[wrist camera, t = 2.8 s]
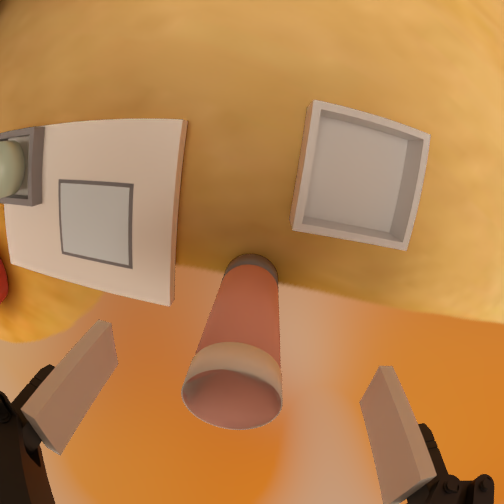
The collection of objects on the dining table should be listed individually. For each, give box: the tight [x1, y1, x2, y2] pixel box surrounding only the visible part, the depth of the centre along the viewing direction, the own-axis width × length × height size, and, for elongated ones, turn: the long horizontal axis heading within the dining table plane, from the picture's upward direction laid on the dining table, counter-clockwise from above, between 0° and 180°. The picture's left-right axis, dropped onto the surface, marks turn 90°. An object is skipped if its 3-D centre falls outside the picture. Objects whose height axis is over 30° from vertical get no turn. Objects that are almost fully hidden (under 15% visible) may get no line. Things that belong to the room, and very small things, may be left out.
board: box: [0, 119, 188, 306], centre depth 19 cm, size 14×20×3 cm
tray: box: [289, 100, 431, 251], centre depth 17 cm, size 8×8×3 cm
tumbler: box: [181, 254, 282, 430], centre depth 16 cm, size 4×4×12 cm
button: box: [0, 140, 25, 198], centre depth 16 cm, size 5×5×2 cm
